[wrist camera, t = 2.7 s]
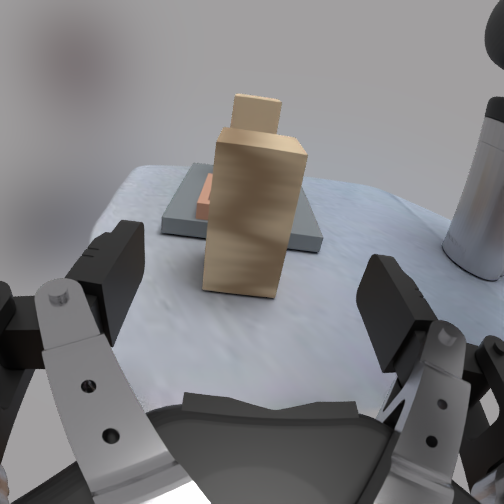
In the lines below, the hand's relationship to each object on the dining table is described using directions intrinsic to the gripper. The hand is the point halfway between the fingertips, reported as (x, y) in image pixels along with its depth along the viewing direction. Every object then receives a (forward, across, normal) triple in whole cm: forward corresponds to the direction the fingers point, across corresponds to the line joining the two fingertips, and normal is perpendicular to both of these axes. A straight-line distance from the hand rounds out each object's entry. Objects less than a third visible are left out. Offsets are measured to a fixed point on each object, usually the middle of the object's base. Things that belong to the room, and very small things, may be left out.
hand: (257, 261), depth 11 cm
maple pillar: (+10, 0, +8) cm, 13 cm away
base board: (+24, 0, +8) cm, 25 cm away
